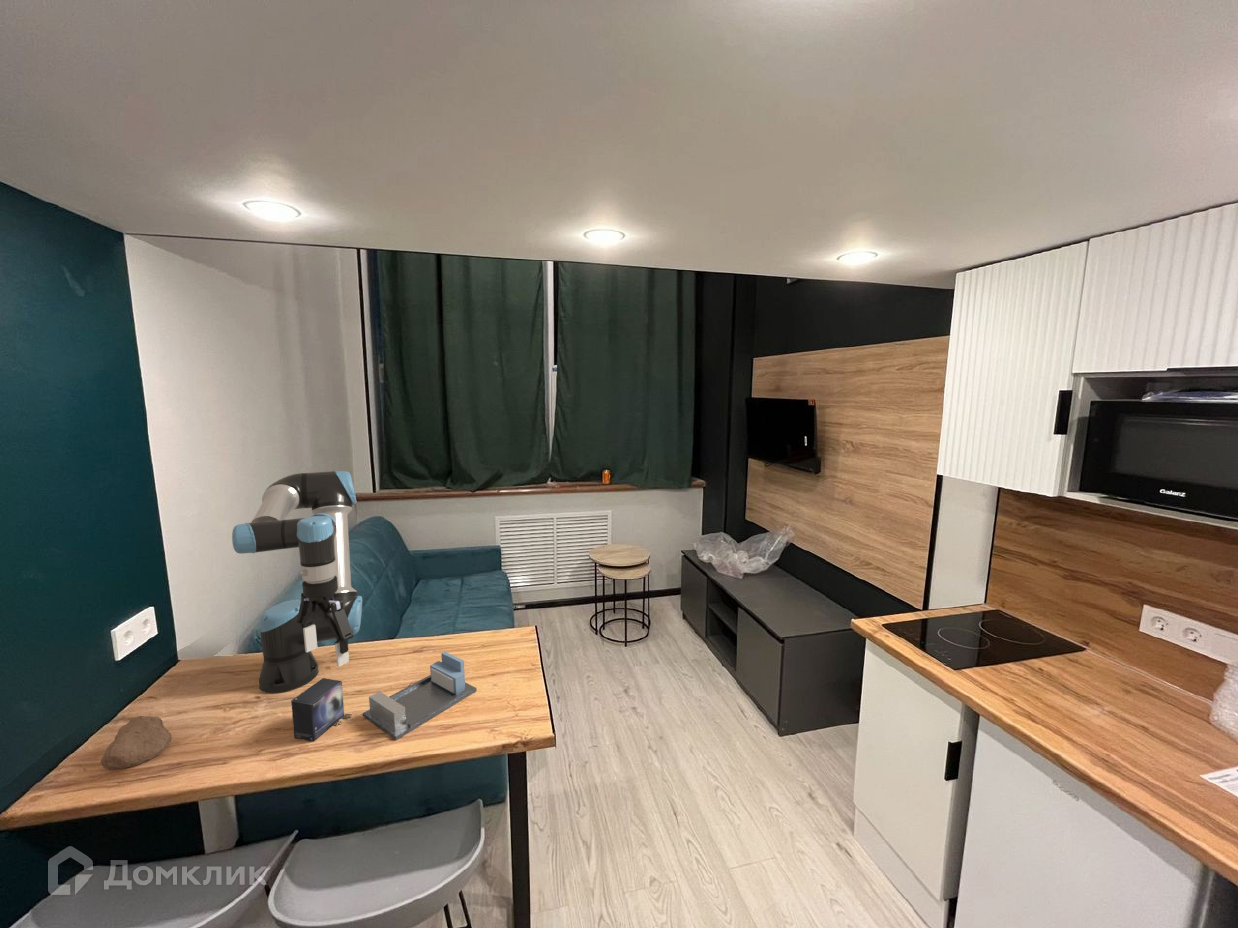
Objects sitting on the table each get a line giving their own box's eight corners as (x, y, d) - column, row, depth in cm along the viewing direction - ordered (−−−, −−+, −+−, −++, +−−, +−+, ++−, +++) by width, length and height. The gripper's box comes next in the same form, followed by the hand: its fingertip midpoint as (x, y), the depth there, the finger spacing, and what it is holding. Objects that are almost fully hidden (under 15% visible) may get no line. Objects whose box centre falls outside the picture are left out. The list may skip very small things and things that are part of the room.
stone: (157, 742, 125) (124, 717, 122) (188, 723, 125) (156, 697, 122) (118, 786, 114) (81, 759, 110) (153, 765, 114) (117, 738, 110)
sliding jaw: (429, 681, 146) (428, 656, 145) (443, 674, 150) (441, 649, 149) (454, 695, 139) (453, 669, 138) (468, 687, 143) (467, 662, 142)
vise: (362, 716, 132) (361, 695, 131) (442, 673, 152) (441, 655, 151) (396, 740, 123) (394, 718, 122) (476, 691, 143) (475, 672, 142)
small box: (314, 742, 122) (311, 704, 121) (292, 739, 123) (288, 700, 122) (346, 715, 132) (343, 679, 131) (325, 712, 134) (322, 676, 132)
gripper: (276, 573, 125) (284, 650, 129) (335, 593, 114) (342, 677, 117) (306, 564, 132) (313, 638, 135) (365, 582, 120) (371, 662, 123)
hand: (326, 656), depth 126 cm, fingers open, 13 cm apart
